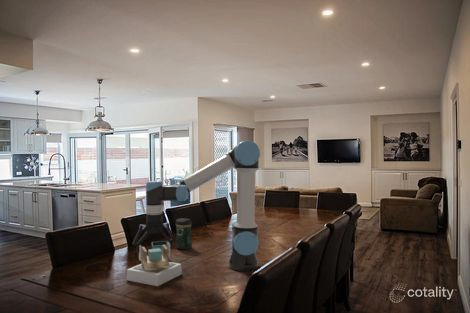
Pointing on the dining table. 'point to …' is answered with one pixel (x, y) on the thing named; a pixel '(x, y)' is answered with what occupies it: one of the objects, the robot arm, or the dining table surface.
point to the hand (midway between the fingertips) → (154, 258)
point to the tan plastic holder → (155, 263)
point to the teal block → (154, 254)
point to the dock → (153, 274)
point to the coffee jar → (183, 233)
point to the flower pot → (159, 244)
